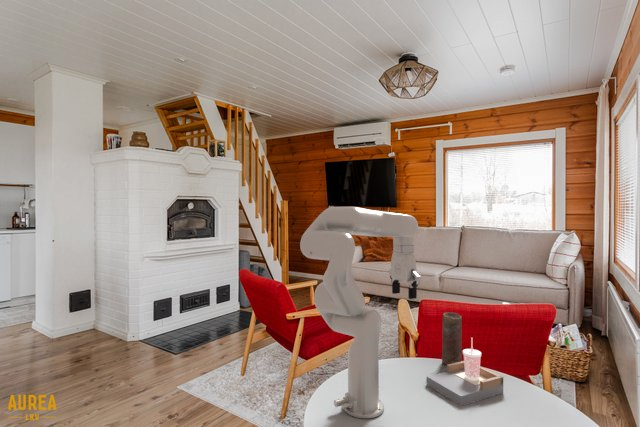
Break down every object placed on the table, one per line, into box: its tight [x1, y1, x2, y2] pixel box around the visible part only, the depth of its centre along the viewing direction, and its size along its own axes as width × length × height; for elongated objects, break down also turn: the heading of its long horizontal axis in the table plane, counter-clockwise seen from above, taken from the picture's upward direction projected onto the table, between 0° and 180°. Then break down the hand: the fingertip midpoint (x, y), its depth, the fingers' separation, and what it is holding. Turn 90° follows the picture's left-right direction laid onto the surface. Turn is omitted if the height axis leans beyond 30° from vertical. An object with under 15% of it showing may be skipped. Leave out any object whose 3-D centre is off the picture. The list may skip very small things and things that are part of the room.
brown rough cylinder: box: [441, 311, 463, 366], centre depth 152 cm, size 8×7×20 cm
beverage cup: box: [462, 337, 482, 381], centre depth 132 cm, size 6×6×14 cm
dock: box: [426, 360, 504, 406], centre depth 130 cm, size 19×16×6 cm
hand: (404, 295), depth 139 cm, fingers open, 9 cm apart
